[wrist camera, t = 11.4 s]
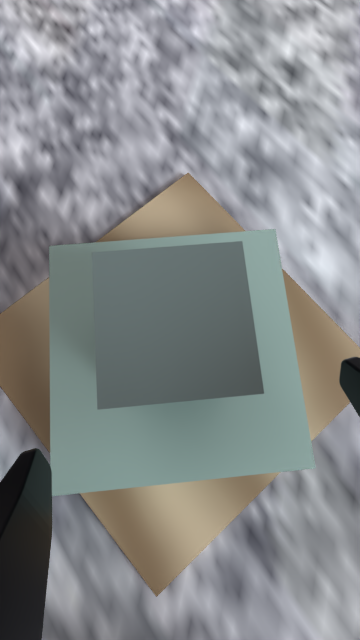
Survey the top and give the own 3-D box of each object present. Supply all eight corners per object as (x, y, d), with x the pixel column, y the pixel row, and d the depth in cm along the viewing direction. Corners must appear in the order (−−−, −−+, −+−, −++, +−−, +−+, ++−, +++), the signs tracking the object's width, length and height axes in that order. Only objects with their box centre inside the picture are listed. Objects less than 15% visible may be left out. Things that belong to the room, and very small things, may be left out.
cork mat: (156, 591, 15) (156, 596, 14) (-30, 341, 17) (-35, 339, 16) (377, 370, 17) (381, 370, 17) (187, 176, 19) (188, 172, 19)
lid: (293, 456, 16) (431, 530, 7) (70, 479, 15) (-56, 586, 7) (261, 251, 18) (338, 128, 9) (66, 266, 17) (-32, 151, 9)
